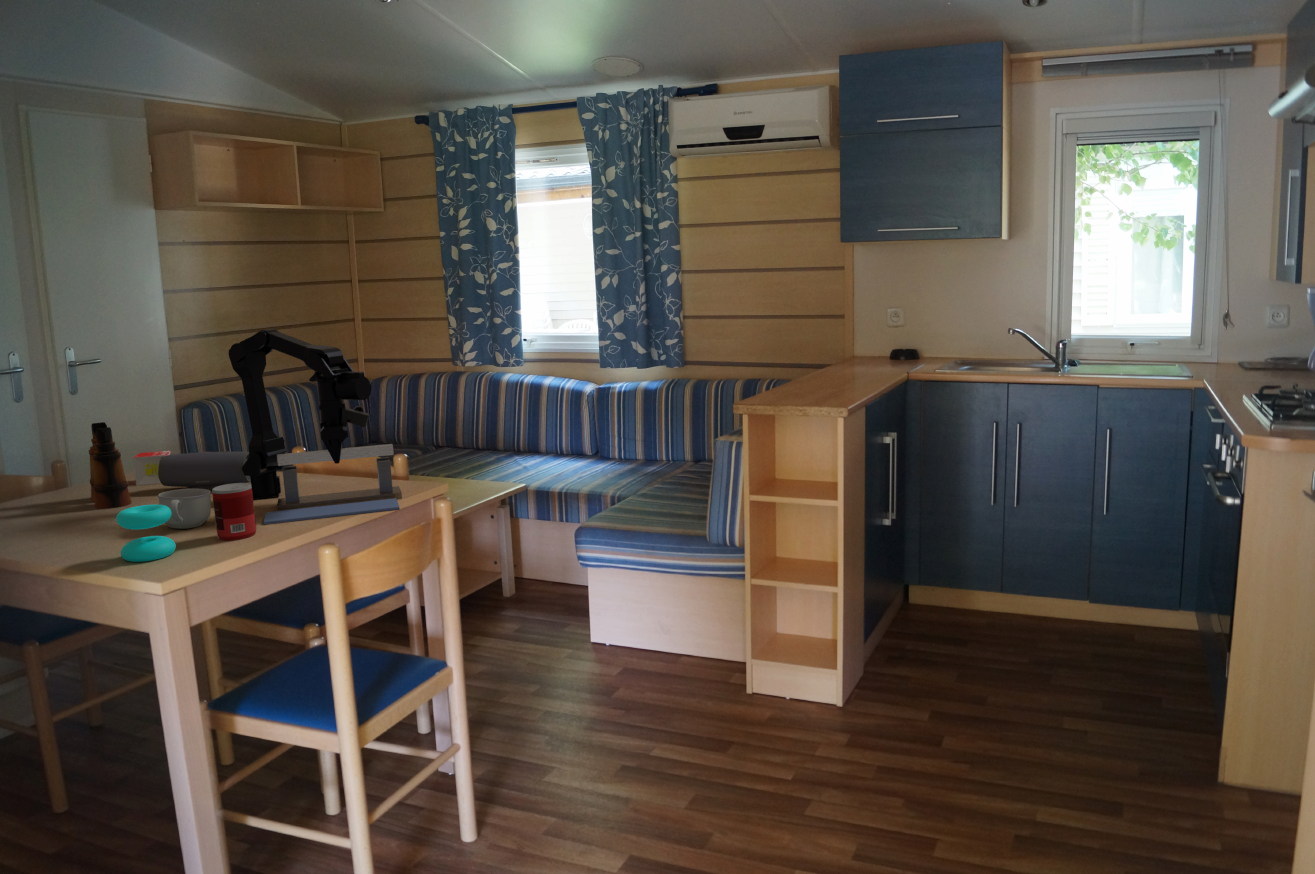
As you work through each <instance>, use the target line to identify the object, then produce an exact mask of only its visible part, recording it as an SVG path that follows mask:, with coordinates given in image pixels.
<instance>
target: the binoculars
mask: <svg viewBox="0 0 1315 874" xmlns="http://www.w3.org/2000/svg"><path fill="white" fill-rule="evenodd" d="M91 434H92V435H91V436H92V438H91V441H90V442H91V443H92V446H90V447H89V449H88V454H89V469H90V478H89V484H90V502H92V503H94V508H95V509H97V510H110V509H118V508H122V507H126V506H129V505H132V499H131V495H130V492H129V488H128V486H129V483H128V481H127V479H126V475H125V470H124V466H123V462H122V458H121V457H122V454H121V451H119V449H117V447H116V446H115V445H116V442H115V441H114V439H113V432H112V428H111V427H109V426H108V425H107V423H106V422H104V421H103V422H101V421H100V422H95V423H91Z"/></svg>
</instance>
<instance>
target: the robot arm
mask: <svg viewBox="0 0 1315 874" xmlns="http://www.w3.org/2000/svg"><path fill="white" fill-rule="evenodd" d="M273 350H274V351H277V352H280V353H282V354H285V355H288V356H289V357H292V358H294V359H295V358H296V359H297V360H301V361H302V362H303V363H304V364H305V365H306V367H308V368H309V369H310V370H312V371H314V373H313V375H312V376H311V377H309V380H308V381H309V382H314V383H315V382H316V385H317V387H316V388H317V396H318V397H317V398H318V407H319V416H320V417H319V418H320V422H319V424H320V425H319V426H320V429H319V431H320V440H322V442H323V444H324V446H325V448H326V450H328V452H329V453H330V455H331V457H332V459H333V461H332V462H333V463H334V464H337V465H338V464H340V461H341V460H340V454H341V449H342V445H343V442H344V441H345V440H346V439H347V438H349V431H348V430H349V429H348V427H347V425H348V423H349V424H353V425H356V426H359V427H361V428H367V425H368V421H369V418H370V414H369V413H368V412H366V411H365V412H364V409H363V407H362V406H359V405H356V406H355V407H354V408H353V409H352V408H349V407H348V408H347V407H346V403H345V401H366V400H368V399H369V398H370V395H371V393H372V384H371V383H370V380H369V379H368V378H367V377H366V376H365V372H364V371H354V369H353V368H352V366H351V365H350V364H349V362H348V360H347V359H346V357H344V355H343V353H342V352H343V351H342V349H340V348H339V347H336V346H330V345H321V344H319V345H318V344H313V343H309V342H307V341H304V340H302V339H299V338H296V337H295V336H291V335H288V334H286V333H282V332H280V331H279V330H278V329H274V328H270V329H260V330H259V331H257V332H256V333H255V334H253V335H252V336H250V337H247V338H245V339H243V340H241V341H239V342H234V343H232V345H231V347H230V348H229V349H228V358H229V361H230V364H231V367H232V369H233V371H234V372H235V373H236V375H237V376H239V378H240V380H241V383H242V388H243V393H244V397H245V403H246V409H247V412H248V418H249V423H250V428H251V434H252V435H251V438H250V441H249V445H248V452H249V458H248V459H247V461H246V462H245V464H244V465H243V466H242V471H243V473H244V475H245V476H250V480H251V482H250V484H251V487H252V494H253V500H260V499H269V498H277V497H280V494H281V493H282V486H281V485H282V484H281V477H280V475H278V472H279V471H283V467H284V465H282V466H278V460H277V454H286V453H288V451H287V449H286V445H285V439H284V437H283V436H278V435H277V434H276V433H275V432H274V428H273V424H272V423H273V422H272V418H271V413H270V408H269V407H270V406H269V404H268V398H267V392H266V388H265V384H264V382H265V381H264V377H263V374H264V372H265V369H266V366H267V355H269V354H270V353H272V352H273Z"/></svg>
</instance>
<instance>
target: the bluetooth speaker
mask: <svg viewBox="0 0 1315 874" xmlns="http://www.w3.org/2000/svg"><path fill="white" fill-rule="evenodd" d="M248 458H249V451H227V450H226V451H200V452H184V453H176V454H174V453H173V454H171V455H167V456H163V457H161V459H160V461H159V468H158V477H159V480H160V482H161V483H160V484H161V485H162V486H164V487H175V488H177V487H178V488H179V487H180V488H181V487H182V488H188V489H207V490H210V491H211V490H212V489H213V488H215V487H217V486H221V485H226V484H233V483H249V484H250V483H251V480H250V476H245V475H244V473H243V471H242V466H243V465H244V464H245V462H246V461H247V459H248Z"/></svg>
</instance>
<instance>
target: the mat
mask: <svg viewBox="0 0 1315 874" xmlns="http://www.w3.org/2000/svg"><path fill="white" fill-rule="evenodd" d="M400 509H401V508H400V505H399V501H398V500H397V499H396V498H394V499H385V500H376V501H366V502H357V503H348V504H339V505H329V506H320V507H311V508H302V509H292V510H283V511H277V510H276V511H266V512H265V515H264V518H263V525H271V524H273V525H274V524H281V523H282V524H283V523H290V522H299V521H308V520H309V521H310V520H317V519H326V518H336V517H344V516H353V515H361V514H362V515H363V514H371V513H381V512H389V511H397V510H398V511H399V510H400Z"/></svg>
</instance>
